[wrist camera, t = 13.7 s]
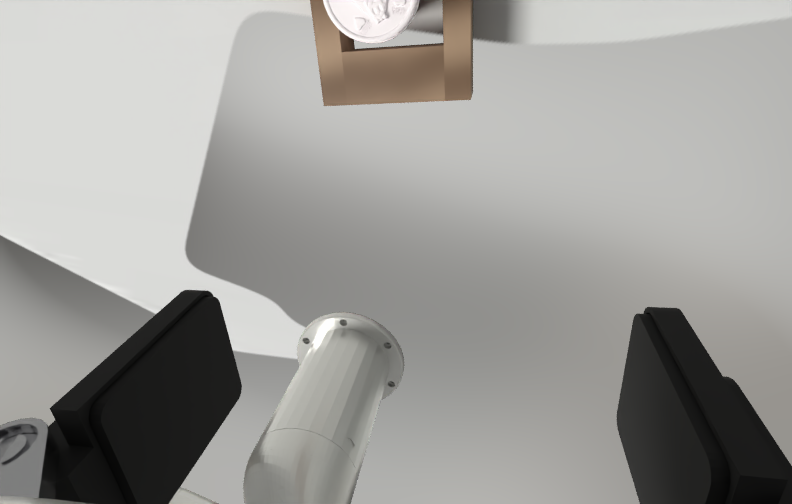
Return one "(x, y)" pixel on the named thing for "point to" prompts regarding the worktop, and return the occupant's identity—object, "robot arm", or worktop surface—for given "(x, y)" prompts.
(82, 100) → the worktop surface
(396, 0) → the smoothie
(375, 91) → the cutout board
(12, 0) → the worktop surface
